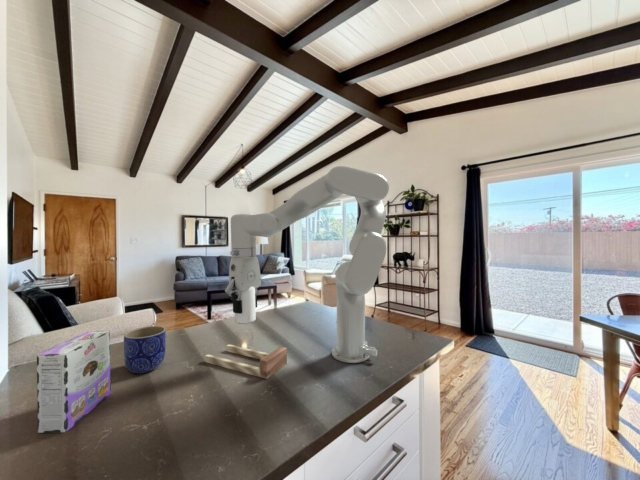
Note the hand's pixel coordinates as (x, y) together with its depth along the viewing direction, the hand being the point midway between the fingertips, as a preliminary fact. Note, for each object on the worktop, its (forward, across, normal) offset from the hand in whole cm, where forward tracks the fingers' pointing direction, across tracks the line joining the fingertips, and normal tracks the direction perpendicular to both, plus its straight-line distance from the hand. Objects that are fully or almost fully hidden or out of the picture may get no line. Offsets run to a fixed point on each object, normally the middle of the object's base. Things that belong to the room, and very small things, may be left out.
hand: (245, 309), depth 89 cm
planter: (+16, -17, +25) cm, 34 cm away
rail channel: (+17, -1, 0) cm, 17 cm away
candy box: (+16, -37, +17) cm, 44 cm away
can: (+4, 0, 0) cm, 4 cm away
